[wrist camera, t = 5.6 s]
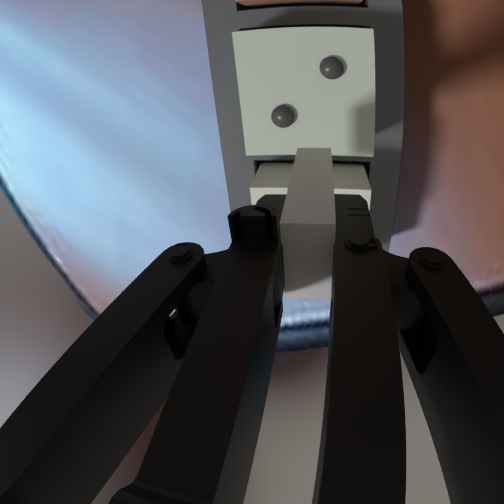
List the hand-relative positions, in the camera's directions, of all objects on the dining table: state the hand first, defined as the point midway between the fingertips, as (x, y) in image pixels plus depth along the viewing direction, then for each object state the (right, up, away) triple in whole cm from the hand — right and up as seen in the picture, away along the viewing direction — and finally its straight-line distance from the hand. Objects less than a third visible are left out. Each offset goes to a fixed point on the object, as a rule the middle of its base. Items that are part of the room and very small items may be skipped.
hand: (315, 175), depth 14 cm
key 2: (+1, +7, +4) cm, 8 cm away
